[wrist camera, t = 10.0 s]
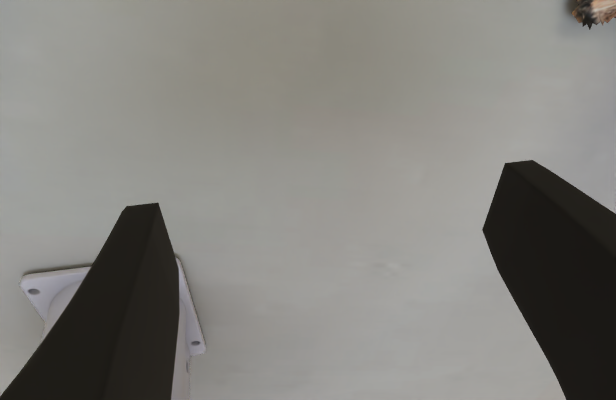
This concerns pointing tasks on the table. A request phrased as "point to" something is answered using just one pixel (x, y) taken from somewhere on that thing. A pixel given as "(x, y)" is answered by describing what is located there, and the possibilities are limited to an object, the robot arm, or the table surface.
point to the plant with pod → (595, 11)
